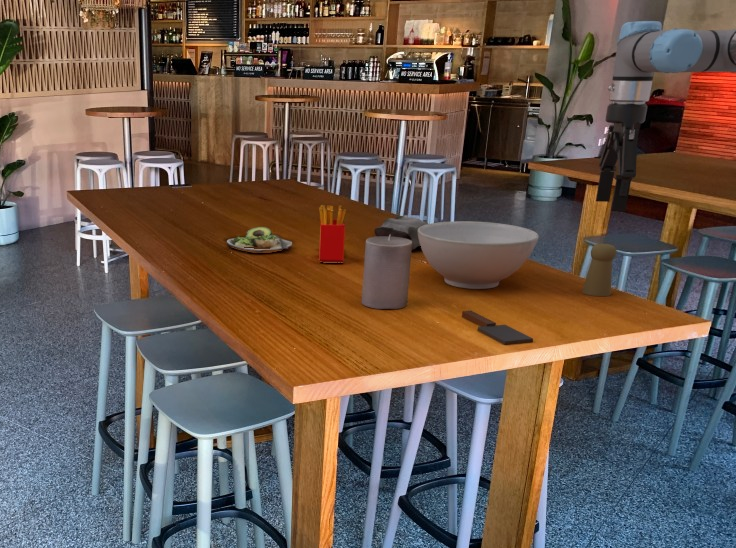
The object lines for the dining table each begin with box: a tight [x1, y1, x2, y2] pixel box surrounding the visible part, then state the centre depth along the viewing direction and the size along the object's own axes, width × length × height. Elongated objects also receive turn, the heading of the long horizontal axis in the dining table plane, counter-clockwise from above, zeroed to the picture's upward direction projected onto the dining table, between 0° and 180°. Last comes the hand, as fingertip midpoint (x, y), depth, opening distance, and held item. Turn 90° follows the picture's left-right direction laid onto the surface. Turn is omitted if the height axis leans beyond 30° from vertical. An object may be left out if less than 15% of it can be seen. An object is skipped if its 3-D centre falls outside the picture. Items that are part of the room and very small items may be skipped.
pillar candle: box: [361, 234, 413, 310], centre depth 168 cm, size 10×10×15 cm
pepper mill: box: [581, 243, 617, 297], centre depth 176 cm, size 6×6×11 cm
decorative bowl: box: [418, 220, 540, 290], centre depth 185 cm, size 27×27×12 cm
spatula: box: [461, 310, 534, 346], centre depth 154 cm, size 18×6×1 cm, turn 15°
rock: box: [373, 215, 429, 251], centre depth 224 cm, size 18×11×8 cm, turn 18°
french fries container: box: [318, 204, 348, 263], centre depth 207 cm, size 7×9×14 cm
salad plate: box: [226, 226, 293, 252], centre depth 223 cm, size 19×18×5 cm
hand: (609, 206), depth 172 cm, fingers open, 13 cm apart
